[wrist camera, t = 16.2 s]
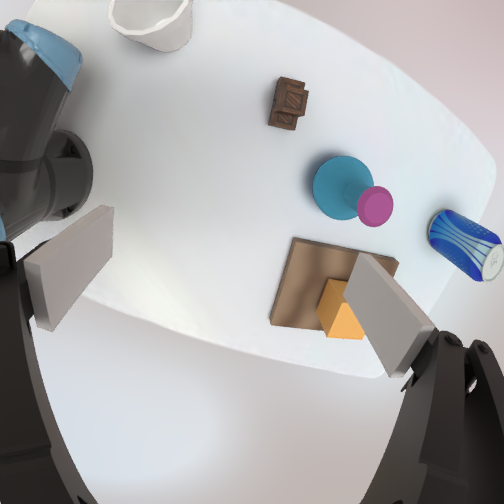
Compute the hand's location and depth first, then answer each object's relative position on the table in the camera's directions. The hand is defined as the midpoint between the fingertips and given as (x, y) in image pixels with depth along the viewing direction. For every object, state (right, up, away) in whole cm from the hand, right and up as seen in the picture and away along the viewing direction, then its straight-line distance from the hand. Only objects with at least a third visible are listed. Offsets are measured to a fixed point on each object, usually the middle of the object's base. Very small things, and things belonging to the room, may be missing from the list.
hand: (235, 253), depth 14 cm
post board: (+15, -7, +35) cm, 39 cm away
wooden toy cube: (+16, -8, +32) cm, 37 cm away
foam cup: (-11, +32, +17) cm, 38 cm away
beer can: (+37, +5, +32) cm, 49 cm away
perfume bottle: (+13, +11, +28) cm, 33 cm away
